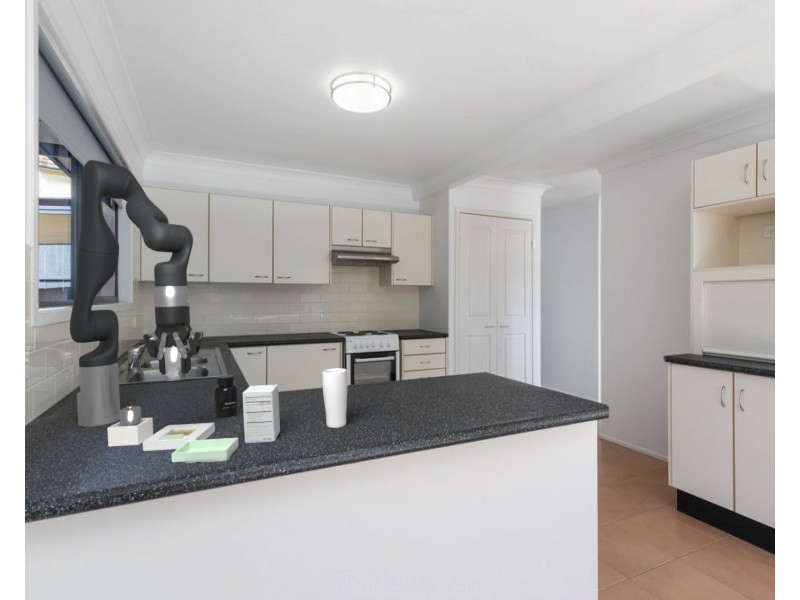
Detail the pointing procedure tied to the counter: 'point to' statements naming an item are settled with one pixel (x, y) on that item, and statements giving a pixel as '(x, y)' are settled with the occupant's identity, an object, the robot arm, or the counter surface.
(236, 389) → the supplement bottle
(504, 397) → the counter surface
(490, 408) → the counter surface
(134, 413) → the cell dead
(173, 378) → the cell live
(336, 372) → the drinking glass
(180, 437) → the frame
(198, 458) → the trough
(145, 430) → the white open box sleeve
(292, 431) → the counter surface
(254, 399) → the supplement box
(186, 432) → the contact plate
